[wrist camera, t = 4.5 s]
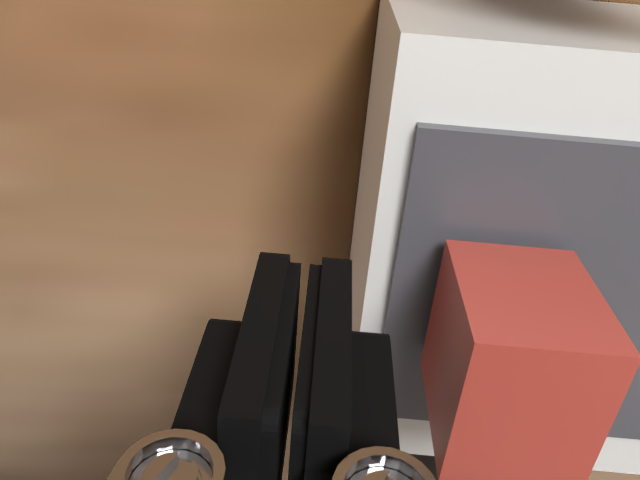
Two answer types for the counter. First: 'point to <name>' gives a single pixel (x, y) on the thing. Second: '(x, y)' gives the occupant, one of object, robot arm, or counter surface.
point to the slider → (521, 364)
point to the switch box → (498, 167)
